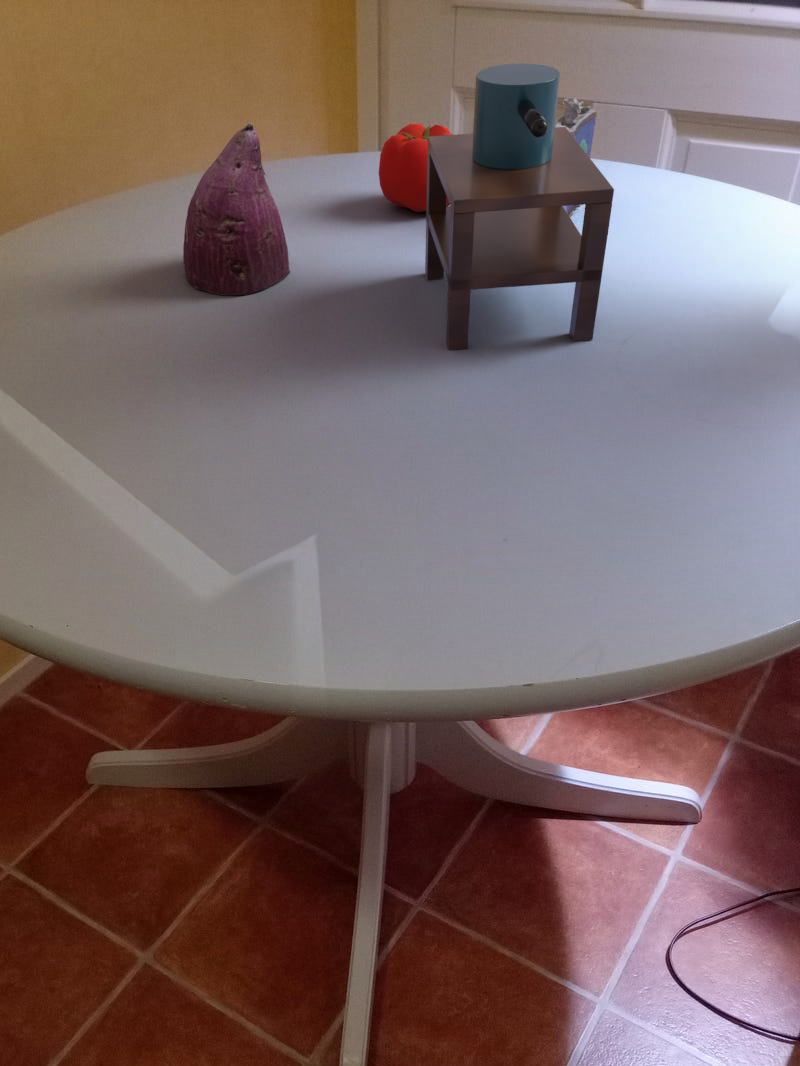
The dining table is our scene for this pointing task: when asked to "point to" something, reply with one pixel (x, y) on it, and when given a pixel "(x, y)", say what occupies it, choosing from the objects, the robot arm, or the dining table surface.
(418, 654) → the dining table surface
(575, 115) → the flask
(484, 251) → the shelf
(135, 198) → the dining table surface
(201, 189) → the vegetable
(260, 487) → the dining table surface
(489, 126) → the saucepan
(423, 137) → the red capsicum
